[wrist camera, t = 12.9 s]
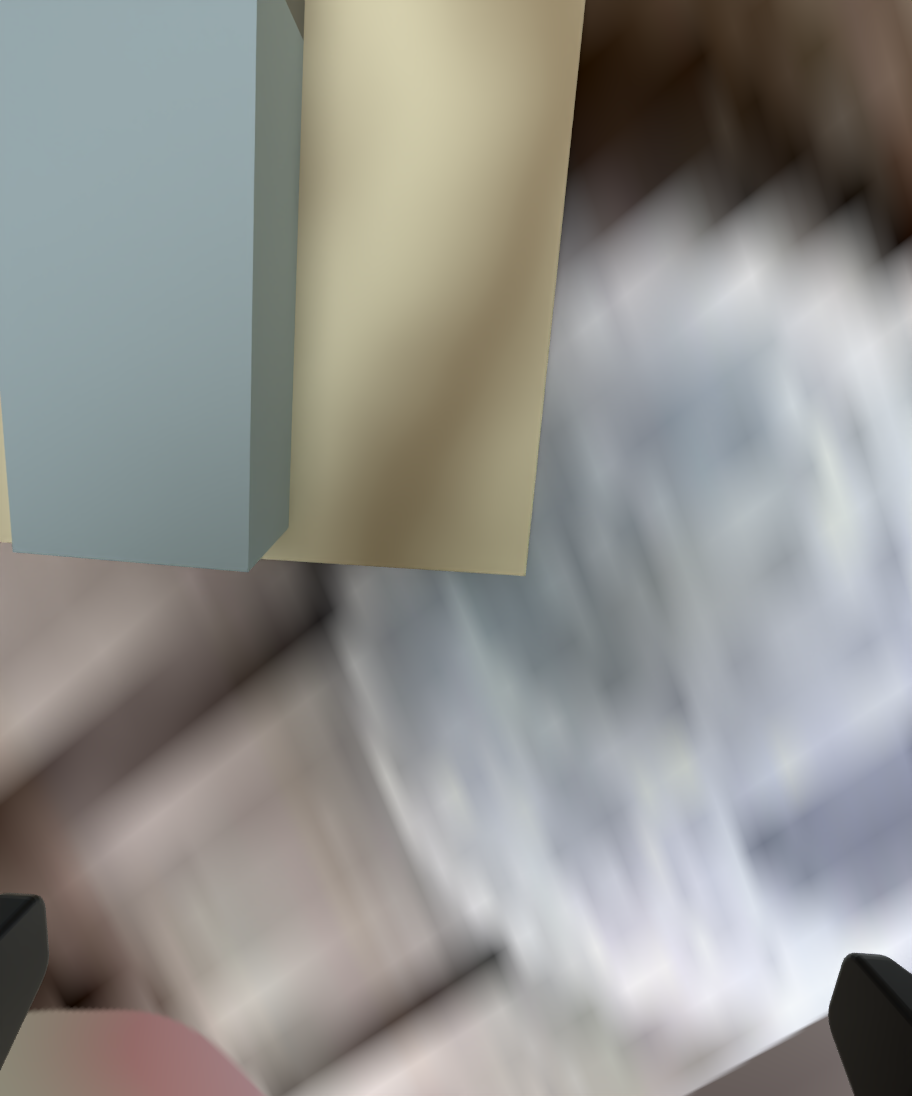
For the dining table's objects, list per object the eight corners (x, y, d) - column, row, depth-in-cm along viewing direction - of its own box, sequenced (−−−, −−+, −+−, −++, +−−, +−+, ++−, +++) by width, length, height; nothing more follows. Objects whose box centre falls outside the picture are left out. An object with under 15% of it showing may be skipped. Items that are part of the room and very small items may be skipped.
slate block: (13, 552, 15) (-49, -208, 11) (102, 511, 19) (77, -65, 15) (248, 572, 15) (259, -169, 12) (288, 527, 19) (306, -38, 15)
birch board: (-107, 524, 20) (-136, 533, 19) (-212, -172, 15) (-255, -207, 14) (521, 565, 20) (525, 575, 19) (588, -94, 16) (598, -122, 15)
